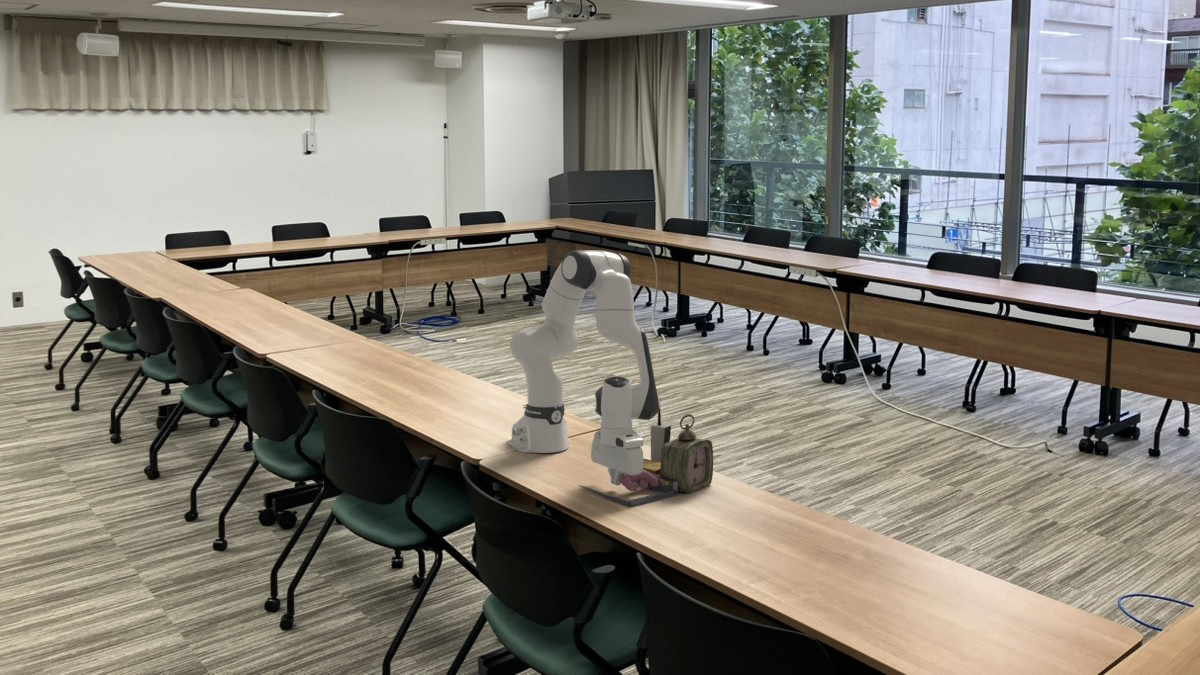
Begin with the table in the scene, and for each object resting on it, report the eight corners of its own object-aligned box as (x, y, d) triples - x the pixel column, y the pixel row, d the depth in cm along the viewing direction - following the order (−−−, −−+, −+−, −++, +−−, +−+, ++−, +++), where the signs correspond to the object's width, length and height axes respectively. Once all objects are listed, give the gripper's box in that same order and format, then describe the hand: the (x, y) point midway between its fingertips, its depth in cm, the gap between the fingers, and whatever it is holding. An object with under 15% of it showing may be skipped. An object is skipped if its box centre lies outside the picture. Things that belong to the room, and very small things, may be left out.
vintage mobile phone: (664, 482, 308) (664, 400, 304) (650, 479, 310) (650, 398, 307) (671, 479, 311) (671, 398, 307) (657, 476, 313) (657, 396, 310)
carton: (654, 484, 292) (654, 469, 291) (617, 474, 304) (616, 460, 304) (675, 479, 297) (675, 465, 297) (637, 469, 309) (637, 455, 309)
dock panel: (574, 486, 292) (574, 473, 292) (620, 476, 303) (620, 463, 302) (630, 506, 273) (630, 492, 273) (677, 495, 284) (677, 481, 283)
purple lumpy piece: (654, 492, 289) (643, 472, 292) (661, 483, 286) (650, 463, 289) (626, 498, 283) (615, 478, 287) (632, 488, 280) (621, 468, 284)
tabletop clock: (684, 509, 284) (684, 420, 281) (658, 503, 290) (658, 416, 287) (713, 497, 295) (713, 412, 292) (687, 492, 301) (687, 408, 298)
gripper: (585, 430, 292) (585, 477, 294) (629, 444, 276) (628, 494, 277) (603, 428, 296) (603, 474, 297) (647, 441, 279) (646, 490, 281)
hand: (615, 484), depth 287 cm, fingers closed
